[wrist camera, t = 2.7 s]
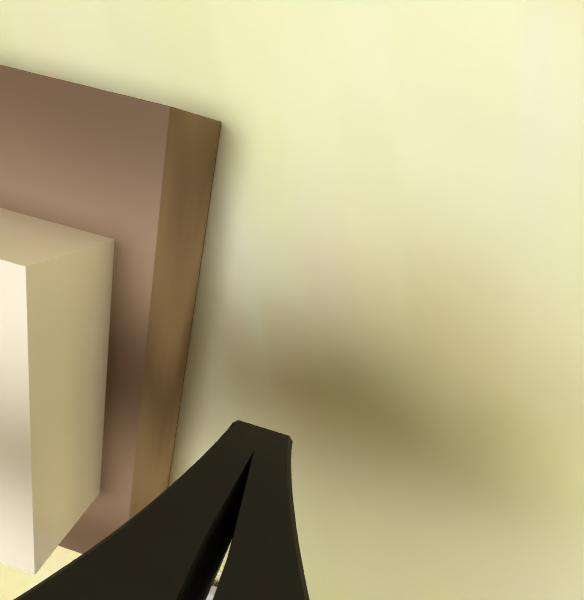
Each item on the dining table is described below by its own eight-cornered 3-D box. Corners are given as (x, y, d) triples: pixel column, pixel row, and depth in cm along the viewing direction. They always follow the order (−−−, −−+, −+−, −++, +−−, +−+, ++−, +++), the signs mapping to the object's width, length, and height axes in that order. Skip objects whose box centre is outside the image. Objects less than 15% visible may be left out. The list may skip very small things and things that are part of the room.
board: (166, 495, 15) (123, 568, 13) (-55, 422, 16) (-141, 475, 13) (221, 121, 10) (169, 106, 8) (-104, 42, 11) (-260, 1, 8)
